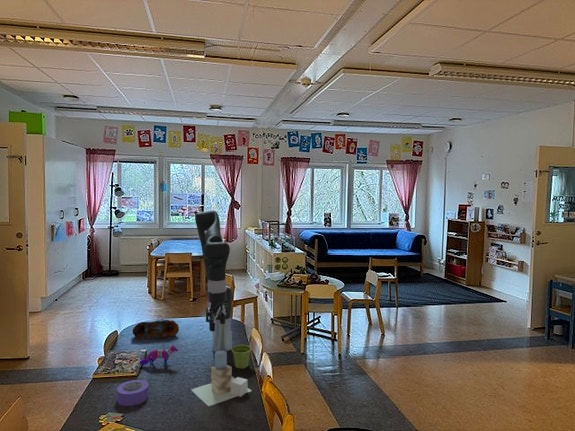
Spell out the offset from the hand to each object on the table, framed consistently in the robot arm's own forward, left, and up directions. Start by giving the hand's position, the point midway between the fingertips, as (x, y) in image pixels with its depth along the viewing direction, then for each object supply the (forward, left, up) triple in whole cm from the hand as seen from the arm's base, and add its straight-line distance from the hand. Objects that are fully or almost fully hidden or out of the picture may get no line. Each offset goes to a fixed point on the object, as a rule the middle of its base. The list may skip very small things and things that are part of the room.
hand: (217, 327), depth 172 cm
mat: (0, +4, -26) cm, 27 cm away
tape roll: (+31, -13, -27) cm, 43 cm away
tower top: (0, +4, -21) cm, 21 cm away
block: (-5, +10, -26) cm, 28 cm away
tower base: (0, +4, -26) cm, 26 cm away
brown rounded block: (-2, -76, -27) cm, 81 cm away
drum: (0, +3, -16) cm, 16 cm away
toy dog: (+12, -35, -27) cm, 45 cm away
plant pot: (-19, -11, -27) cm, 34 cm away
